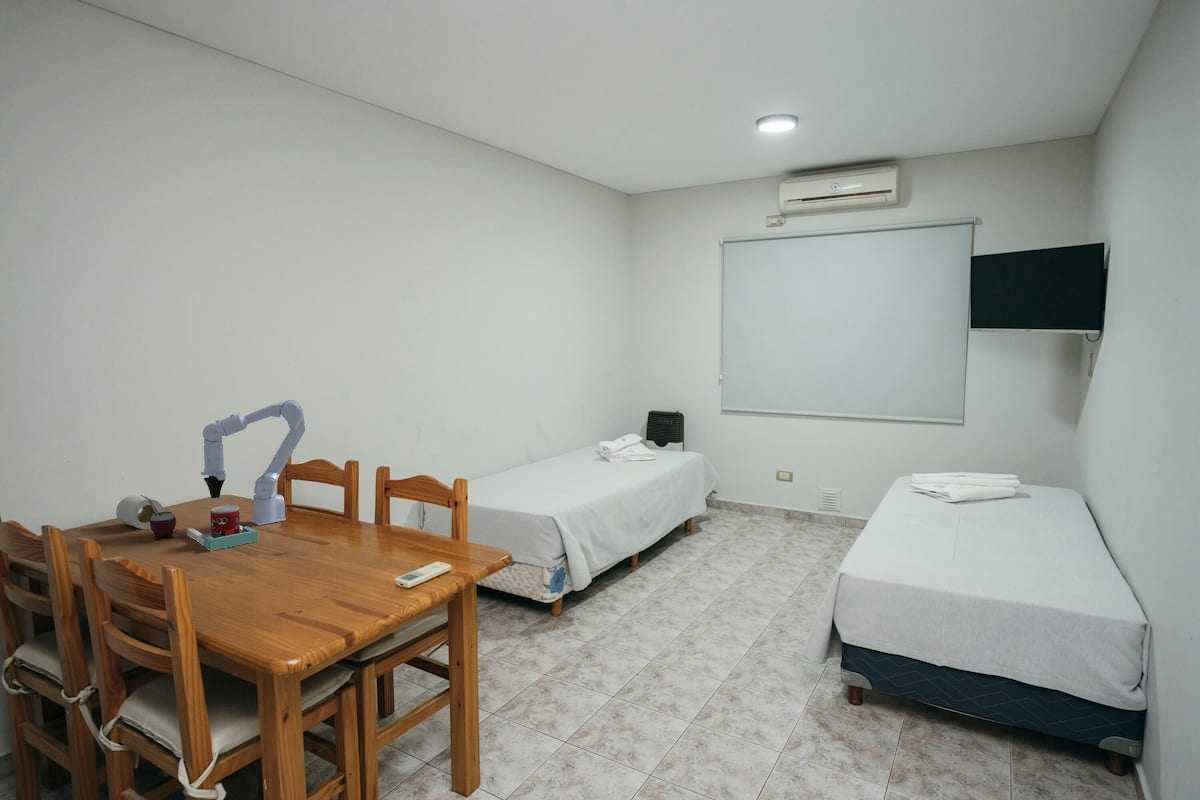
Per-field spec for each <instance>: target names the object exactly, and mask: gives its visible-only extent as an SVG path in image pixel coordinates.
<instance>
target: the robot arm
mask: <svg viewBox="0 0 1200 800" xmlns="http://www.w3.org/2000/svg"><path fill="white" fill-rule="evenodd" d="M281 416H282V418H283V419H284V420H285V421H286V422H287V424H288V427H289V431H288V433H287V434H286V436H285V438H284V439H283V441H282V443H281V444H280V446H279V448H278V450H277V451H276V453H275V455H274V457H272V460H271V461H270V463H269V464H268V466H267V468H266V469H265V471H264V472H263V474H262V475H261V476H259V477H258V478H257V479H256V481H255V484H254V489H253V492H254V494H255V495H253V518H252V519H249V522H251V523H254V524H255V525H257V526H262V525H268V524H272V523H278V522H283V521H286V519H287V518H286V505H285V503H286V502H285V499H284V496H283V495H282V494H277V493H276V492H275V486H276V483H277V482H278V479H279V477H280V475H281V473H282V472H283V470H284V468H285V466H286V465H287V463H288V461H289V459H290V458H291V456H292V454H293V453H294V451H295V449H296V447H297V446H298V444H299V443H300V441H301V439H302V437H303V435H304V433H306V425H305V418H304V412H303V408H302V407H301V405H300V403H299V402H298V401H296V400H294V399H288V400H286V401H282V402H281V401H280V402H277V403H274V404H270V405H267V406H266V407H262V408H260V409H258V410H255V411H253V412H250V413H248V414H245V415H242V414H240V413H237V414H235V413H231V414H230V415H229V417H226V418H224V419H223V418H222V419H220V420H219V419H217V420H215V423H214V422H211V423H208V424H207V425H206V426H205V427H204V428H203V430H202V437H203V439H204V440H203V444H204V445H203V455H204V456H203V459H204V468H203V472H202V471H201V472H200V475H202V476H207V477H204V478H203V480H204V482H205V483H206V486H207V487H208V492H209V495H210V497H211V498H212V499H218V498H220V496H221V491H222V488H223V485H224V482H225V481H226V477H227V476H226V471H225V462H224V461H225V458H224V457H225V456H224V444H223V437H229V436H230V435H234V434H236V433H238V432H241V431H244V430H246V429H247V426H248V425H250V424H252V423H255V422H258V421H262V420H264V419H267V418H270V417H273V418H281Z"/></svg>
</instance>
